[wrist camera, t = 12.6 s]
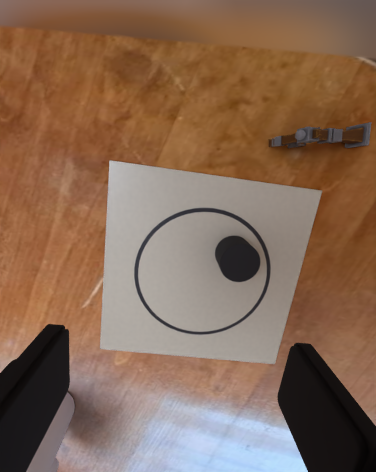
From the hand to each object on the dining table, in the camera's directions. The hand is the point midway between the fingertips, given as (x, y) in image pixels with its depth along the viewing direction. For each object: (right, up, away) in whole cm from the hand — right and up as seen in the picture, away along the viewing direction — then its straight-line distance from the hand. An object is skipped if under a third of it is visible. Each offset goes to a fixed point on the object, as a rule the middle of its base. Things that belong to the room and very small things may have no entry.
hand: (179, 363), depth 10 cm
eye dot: (+5, +4, +13) cm, 15 cm away
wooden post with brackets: (+12, +14, +12) cm, 21 cm away
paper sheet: (+2, +1, +14) cm, 14 cm away
